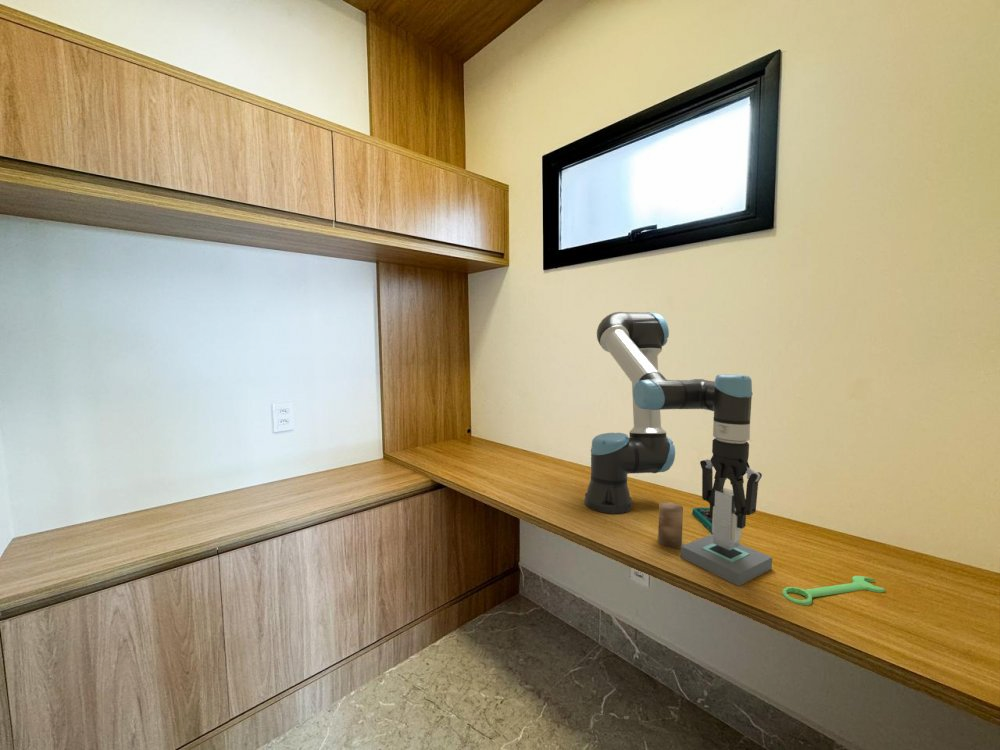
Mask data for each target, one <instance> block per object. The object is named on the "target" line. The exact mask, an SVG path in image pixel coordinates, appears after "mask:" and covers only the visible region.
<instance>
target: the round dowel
mask: <svg viewBox="0 0 1000 750" xmlns="http://www.w3.org/2000/svg"><path fill="white" fill-rule="evenodd" d="M683 519H684V507H683V506H682V505H681V504H678V503H677V502H676V503H675V502H671V501H662V502H660V503H659V505H658V530H657V531H658V533H657V542H658V544H660V545H661V546H662V547H665V548H668V549H681V546H682V545H683V543H682V542H683V521H684V520H683Z"/></svg>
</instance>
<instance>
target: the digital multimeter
mask: <svg viewBox="0 0 1000 750" xmlns="http://www.w3.org/2000/svg"><path fill="white" fill-rule="evenodd" d="M691 514H692V516H693V517H695V518H696V519H697V520H698V521H699V522H700V523H701V524H702V525H703V526H704V527H705V528H706V530H708V531H709V532H710V533H711V534H713V533H712V519H713V518H711V517H710V507H694V508H692V512H691Z"/></svg>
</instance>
